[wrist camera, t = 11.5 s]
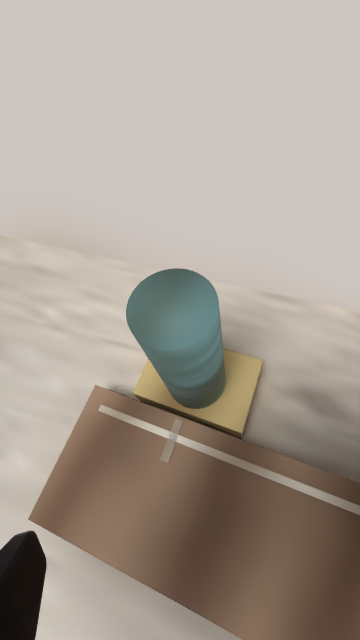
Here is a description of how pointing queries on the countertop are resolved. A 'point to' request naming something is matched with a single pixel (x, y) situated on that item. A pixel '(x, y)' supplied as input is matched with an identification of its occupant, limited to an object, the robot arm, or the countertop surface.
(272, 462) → the board
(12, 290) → the countertop surface
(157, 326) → the teal column with base
